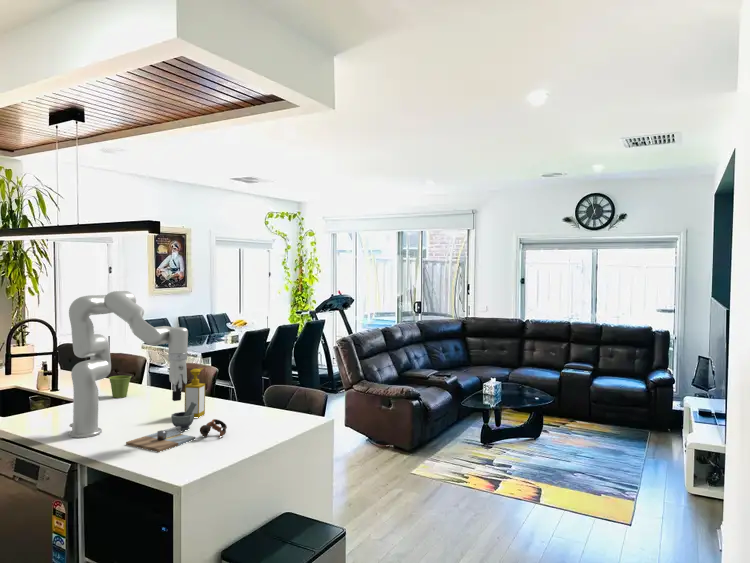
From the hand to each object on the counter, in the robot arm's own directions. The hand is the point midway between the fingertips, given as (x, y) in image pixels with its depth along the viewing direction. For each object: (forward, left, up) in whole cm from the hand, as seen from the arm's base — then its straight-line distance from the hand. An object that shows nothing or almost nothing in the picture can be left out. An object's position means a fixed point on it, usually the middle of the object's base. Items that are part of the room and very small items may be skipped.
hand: (176, 400), depth 223 cm
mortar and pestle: (-9, +13, -17) cm, 23 cm away
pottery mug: (+10, +11, -17) cm, 22 cm away
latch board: (-3, -5, -17) cm, 18 cm away
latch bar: (-2, -2, -15) cm, 16 cm away
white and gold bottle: (-23, +35, -17) cm, 45 cm away
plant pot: (-90, +43, -17) cm, 101 cm away
